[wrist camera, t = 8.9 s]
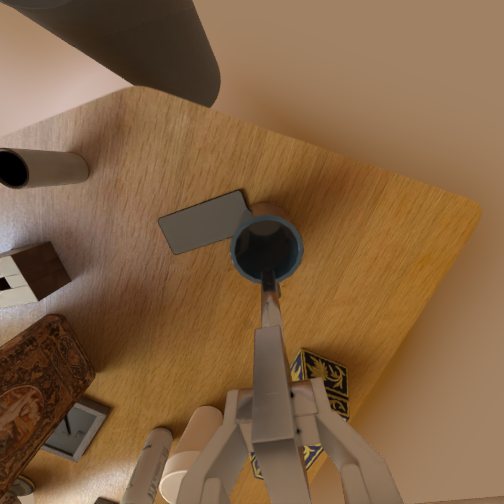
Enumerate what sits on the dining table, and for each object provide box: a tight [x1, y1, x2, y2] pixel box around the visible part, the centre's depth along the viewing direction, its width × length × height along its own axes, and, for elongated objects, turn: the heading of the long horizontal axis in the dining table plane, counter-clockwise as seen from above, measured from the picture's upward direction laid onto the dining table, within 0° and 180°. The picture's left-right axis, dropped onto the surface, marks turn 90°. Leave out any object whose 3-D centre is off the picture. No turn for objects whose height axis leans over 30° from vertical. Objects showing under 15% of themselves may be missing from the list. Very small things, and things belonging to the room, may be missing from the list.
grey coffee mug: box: [230, 202, 304, 298], centre depth 35 cm, size 13×9×11 cm
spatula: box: [251, 268, 311, 504], centre depth 16 cm, size 4×1×17 cm, turn 13°
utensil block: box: [0, 241, 71, 309], centre depth 40 cm, size 8×8×7 cm
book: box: [0, 314, 95, 499], centre depth 37 cm, size 16×6×25 cm, turn 12°
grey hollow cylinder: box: [0, 148, 88, 189], centre depth 32 cm, size 4×4×10 cm
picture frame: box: [40, 396, 110, 463], centre depth 56 cm, size 16×2×21 cm
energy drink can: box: [120, 428, 173, 504], centre depth 51 cm, size 6×6×15 cm
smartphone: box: [158, 190, 248, 255], centre depth 39 cm, size 7×1×15 cm
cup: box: [159, 406, 223, 504], centre depth 49 cm, size 12×12×14 cm
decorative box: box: [249, 348, 349, 480], centre depth 49 cm, size 11×30×9 cm, turn 157°
